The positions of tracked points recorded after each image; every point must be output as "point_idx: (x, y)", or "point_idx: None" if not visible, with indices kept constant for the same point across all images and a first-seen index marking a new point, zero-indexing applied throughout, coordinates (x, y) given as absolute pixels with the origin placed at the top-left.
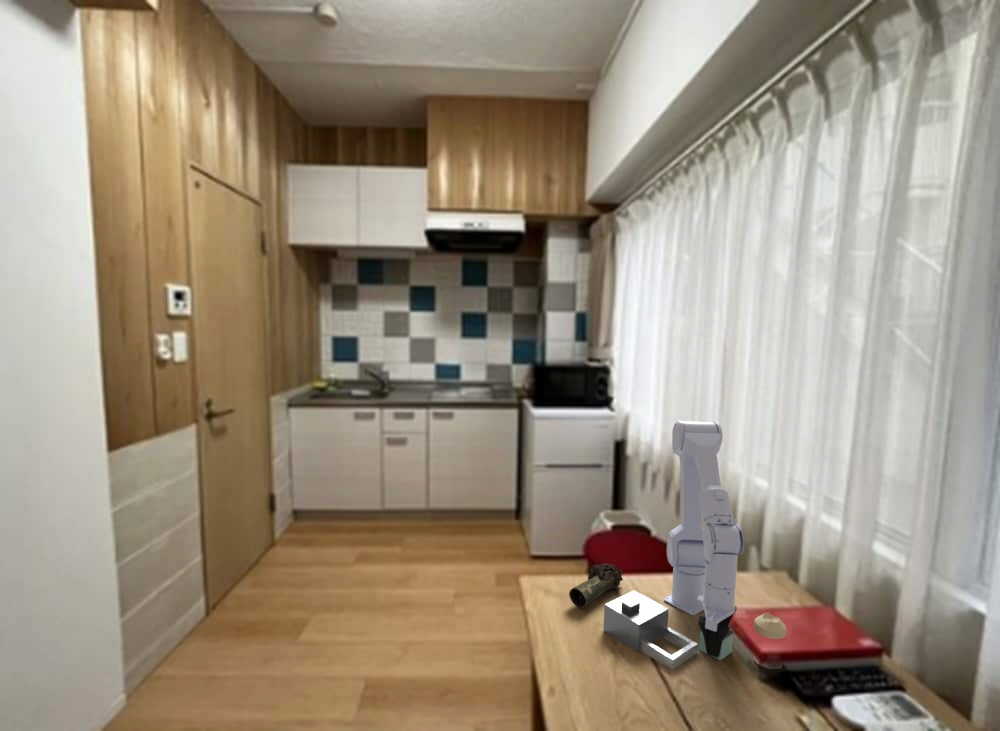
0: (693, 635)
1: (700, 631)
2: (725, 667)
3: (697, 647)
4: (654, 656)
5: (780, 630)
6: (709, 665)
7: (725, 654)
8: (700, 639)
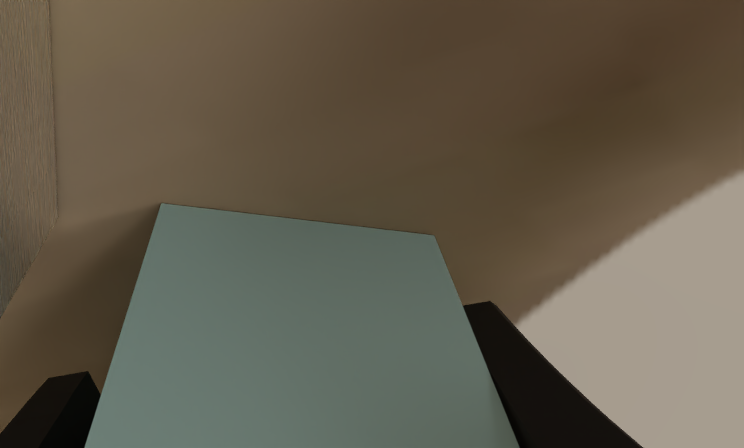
0: (477, 10)
1: (92, 435)
2: None
3: (12, 289)
4: None
5: None
6: (25, 357)
7: None
8: (122, 330)
